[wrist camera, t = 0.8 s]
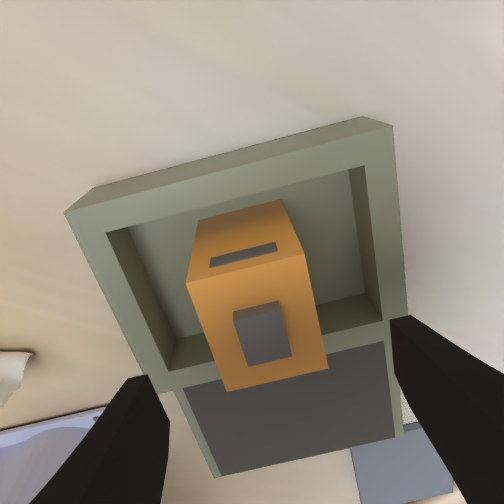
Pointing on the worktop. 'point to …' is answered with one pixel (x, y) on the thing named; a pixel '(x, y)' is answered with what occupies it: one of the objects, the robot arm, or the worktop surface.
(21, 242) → the worktop surface
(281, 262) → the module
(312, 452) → the grey-green tray
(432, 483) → the mat
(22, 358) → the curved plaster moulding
